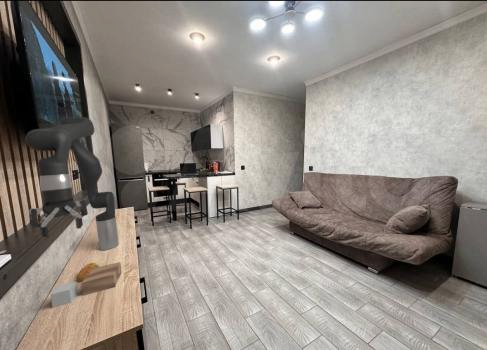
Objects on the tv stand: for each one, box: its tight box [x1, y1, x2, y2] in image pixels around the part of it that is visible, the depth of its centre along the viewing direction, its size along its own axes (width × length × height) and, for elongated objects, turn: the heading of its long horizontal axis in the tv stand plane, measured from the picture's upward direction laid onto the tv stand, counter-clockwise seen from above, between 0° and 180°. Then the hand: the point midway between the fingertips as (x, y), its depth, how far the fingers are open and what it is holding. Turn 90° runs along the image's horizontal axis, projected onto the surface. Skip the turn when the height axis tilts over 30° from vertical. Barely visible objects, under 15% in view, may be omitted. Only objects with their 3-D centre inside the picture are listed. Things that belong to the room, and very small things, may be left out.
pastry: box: [76, 262, 101, 282], centre depth 79 cm, size 9×7×4 cm
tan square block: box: [81, 261, 122, 296], centre depth 73 cm, size 10×10×5 cm
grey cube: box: [50, 280, 79, 308], centre depth 64 cm, size 5×5×5 cm
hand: (63, 232), depth 63 cm, fingers open, 8 cm apart
